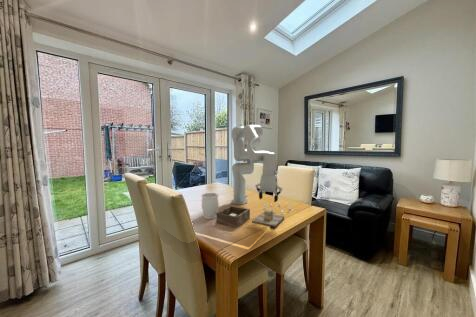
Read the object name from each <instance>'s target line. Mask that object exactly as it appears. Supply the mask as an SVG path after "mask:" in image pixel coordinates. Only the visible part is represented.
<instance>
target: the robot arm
mask: <svg viewBox="0 0 476 317" xmlns="http://www.w3.org/2000/svg"><path fill="white" fill-rule="evenodd" d="M263 131H264V130H263V127H262V126H261V125H259V124H247V125H244V126H234V127H233V128H232V130H231V138H232V142H233V159H234V161H236V162H235V163H233V165H232V166H231V171H232V178H233V179H232V180H233V186H232V187H233V199H232V200H231V204H234V205H245V204H247V203H248V200H247V199H246V198H248V195H247V194H246V178H245V177H244V175H251V174H253V173H254V171H255V164H262V174H261V177H260V182H259V183H258V184H255V186H254V187H255V189H256V190H257V192H258V198H259V200H262V199H263V195H264V194H263V192H269V193H273V194H274V196H273V197H274V199H273V200H274V201H273V202H274V203H276V202H278V199H279V195H280V194H281V193H282V191H283V188H282V187H281V186H279V184H278V176H277V175H278V174H279V173H278V171H276V163H277V154H276V153H275V152H272V151H268V150H254V149H253V148H256V147H257V146H259V145H260V143H261V138H260V137H261V136H263V134H264V132H263ZM244 138H245V139H246V142H247V145H246V148H245V142H244V140H243V139H244Z"/></svg>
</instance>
